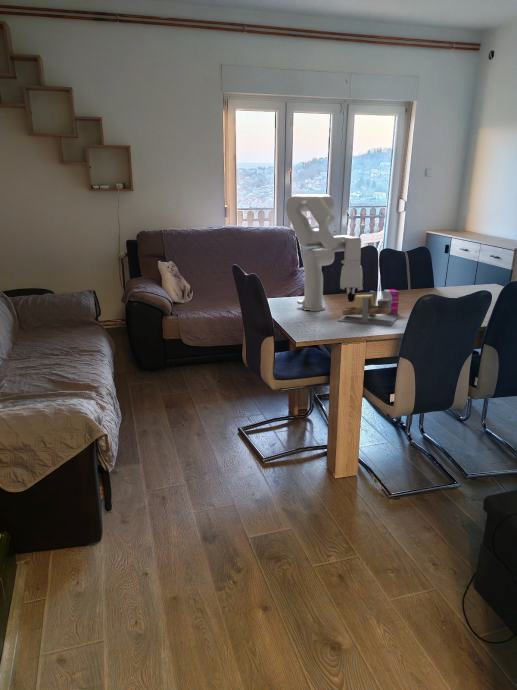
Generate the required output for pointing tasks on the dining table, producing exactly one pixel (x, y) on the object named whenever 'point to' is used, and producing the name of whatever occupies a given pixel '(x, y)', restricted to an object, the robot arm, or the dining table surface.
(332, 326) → the dining table surface
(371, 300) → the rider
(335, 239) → the robot arm
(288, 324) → the dining table surface
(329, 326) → the dining table surface
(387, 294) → the supplement box
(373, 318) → the stand
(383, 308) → the beam
